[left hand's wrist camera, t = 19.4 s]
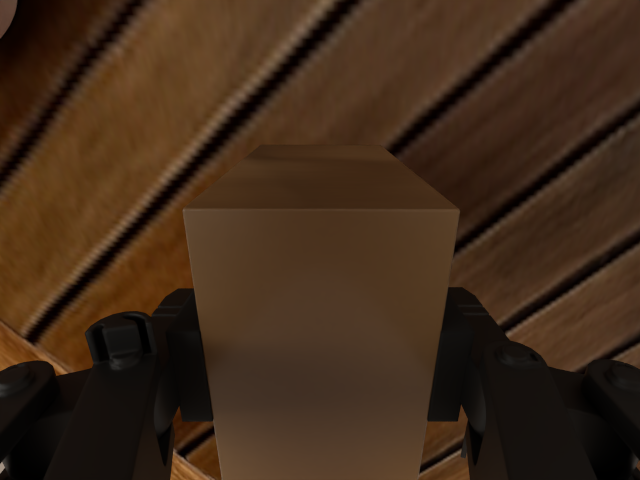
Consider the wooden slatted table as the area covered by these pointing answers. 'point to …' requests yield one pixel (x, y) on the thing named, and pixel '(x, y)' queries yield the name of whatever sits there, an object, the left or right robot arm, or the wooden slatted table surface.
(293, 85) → the wooden slatted table surface
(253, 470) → the brick
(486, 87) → the wooden slatted table surface
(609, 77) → the wooden slatted table surface
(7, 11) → the anatomical model
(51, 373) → the left robot arm
